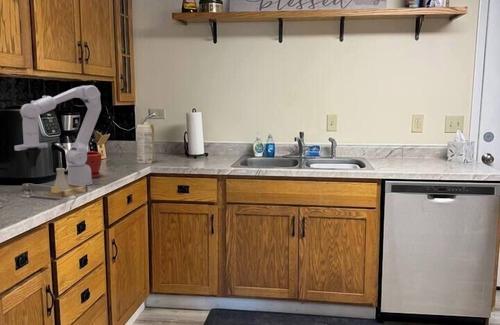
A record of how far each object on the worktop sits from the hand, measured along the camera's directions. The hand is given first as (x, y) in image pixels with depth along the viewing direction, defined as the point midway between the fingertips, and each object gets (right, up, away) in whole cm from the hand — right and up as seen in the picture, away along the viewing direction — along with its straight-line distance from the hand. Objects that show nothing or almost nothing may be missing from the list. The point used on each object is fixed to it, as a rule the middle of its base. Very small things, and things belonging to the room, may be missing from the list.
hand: (32, 166), depth 191 cm
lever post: (+3, -12, -10) cm, 16 cm away
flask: (+13, -11, -3) cm, 17 cm away
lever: (+9, -9, -13) cm, 18 cm away
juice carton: (+28, +1, +83) cm, 88 cm away
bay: (+15, -11, -3) cm, 19 cm away
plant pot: (+11, -6, +33) cm, 36 cm away
